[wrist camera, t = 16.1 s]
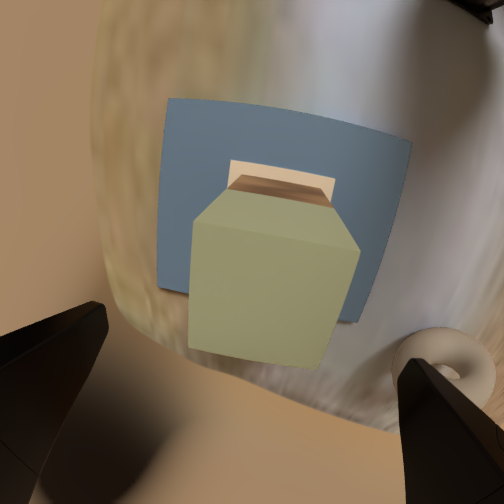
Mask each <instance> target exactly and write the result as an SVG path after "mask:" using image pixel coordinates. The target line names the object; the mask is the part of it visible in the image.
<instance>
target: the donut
mask: <svg viewBox="0 0 504 504" xmlns="http://www.w3.org/2000/svg"><path fill="white" fill-rule="evenodd" d="M411 358H423V359H424V360H426V361H427V362H428V363H429V364H430V365H432V364H442V365H446V366H448V367H450V368H452V369H453V370H455V371H456V372H457V373H458V374H459V376H460V378H461V379H451V378H447V377H445V376H444V377H445V378H446V379H447V380H448V381H450V382H451V383H452V384H453V385H454V386H455V387H456V388H458V389H459V390H460V391H461V392H462V393H463V394H464V395H465V396H466V397H468V398H469V399H470V400H471V401H472V402H473V403H474V404H475V405H476V406H477V407H479V408H480V409H481V408H482V407H483V406H484V405H485V404H486V402H487V401H488V400H489V399H490V397H491V395H492V392H493V389H494V385H495V382H496V372H495V364H494V362H493V360H492V358H491V356H490V354H489V352H488V350H487V349H486V348H485V347H484V346H483V345H482V344H481V343H480V342H479V341H478V340H476V339H475V338H473V337H472V336H470V335H468V334H466V333H464V332H461V331H459V330H455V329H450V328H446V327H433V328H429V329H424V330H420V331H418V332H416V333H414V334H413V335H411V336H409V337H408V338H406V339H405V340H404V342H403V343H402V344H401V345H400V346H399V348H398V349H397V351H396V353H395V356H394V359H393V363H392V368H391V372H392V379H393V385H394V387H395V389H396V391H397V379H398V376H399V375H400V373H401V371H402V370H403V368H404V367H405V365H406V364H407V362H408V360H409V359H411ZM397 393H398V392H397Z"/></svg>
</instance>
